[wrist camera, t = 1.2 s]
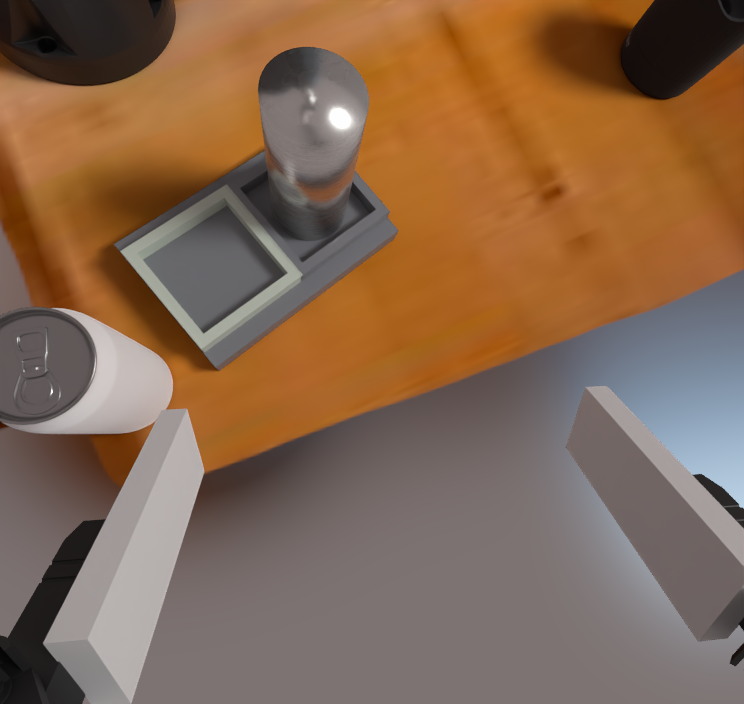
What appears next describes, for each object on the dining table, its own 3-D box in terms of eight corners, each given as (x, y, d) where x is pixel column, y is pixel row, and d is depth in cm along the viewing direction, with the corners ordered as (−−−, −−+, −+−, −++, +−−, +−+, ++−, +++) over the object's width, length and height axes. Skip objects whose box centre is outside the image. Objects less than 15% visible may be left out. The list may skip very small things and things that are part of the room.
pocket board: (122, 253, 33) (106, 237, 31) (306, 136, 38) (307, 113, 35) (219, 370, 33) (212, 365, 30) (394, 238, 37) (401, 223, 35)
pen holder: (659, 19, 48) (751, -86, 38) (706, 87, 47) (812, -2, 38) (599, 44, 46) (680, -61, 36) (647, 116, 45) (743, 29, 35)
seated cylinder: (256, 198, 34) (234, 78, 23) (314, 160, 36) (322, 30, 24) (303, 254, 34) (306, 163, 23) (360, 214, 36) (390, 108, 24)
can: (86, 442, 31) (-44, 449, 19) (75, 355, 31) (-56, 310, 20) (181, 422, 32) (114, 416, 20) (167, 339, 33) (96, 288, 21)
